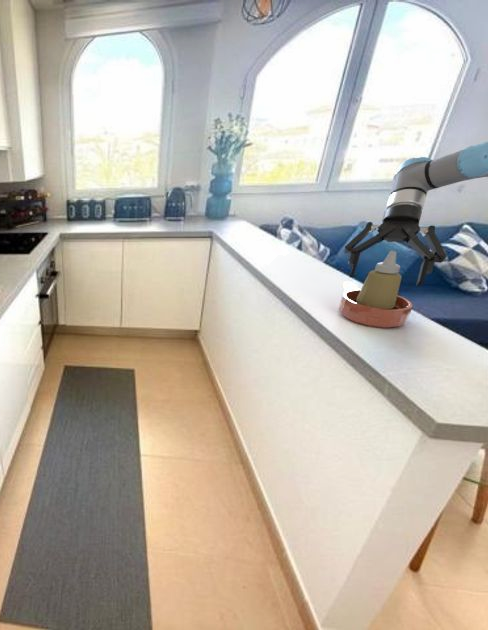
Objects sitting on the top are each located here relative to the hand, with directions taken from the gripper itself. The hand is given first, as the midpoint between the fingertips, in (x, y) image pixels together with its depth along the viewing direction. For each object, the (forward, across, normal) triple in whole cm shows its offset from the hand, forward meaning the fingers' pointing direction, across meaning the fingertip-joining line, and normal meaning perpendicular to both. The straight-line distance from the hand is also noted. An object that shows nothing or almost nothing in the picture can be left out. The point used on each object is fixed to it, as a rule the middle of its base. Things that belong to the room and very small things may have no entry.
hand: (384, 279), depth 91 cm
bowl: (+8, 0, -8) cm, 11 cm away
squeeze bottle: (+8, 0, -7) cm, 11 cm away
